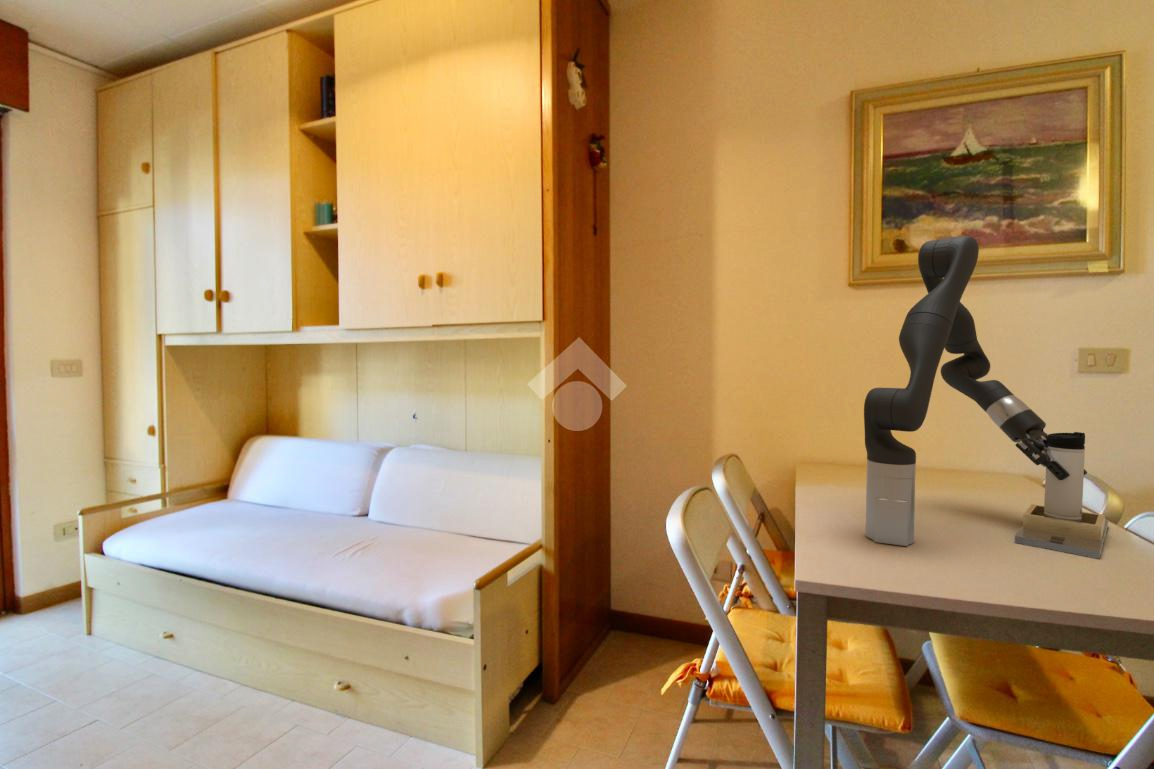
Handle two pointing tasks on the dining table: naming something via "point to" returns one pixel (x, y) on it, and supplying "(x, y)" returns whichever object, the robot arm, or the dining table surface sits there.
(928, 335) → the robot arm
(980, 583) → the dining table surface
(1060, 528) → the open tray on base
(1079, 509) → the travel mug
